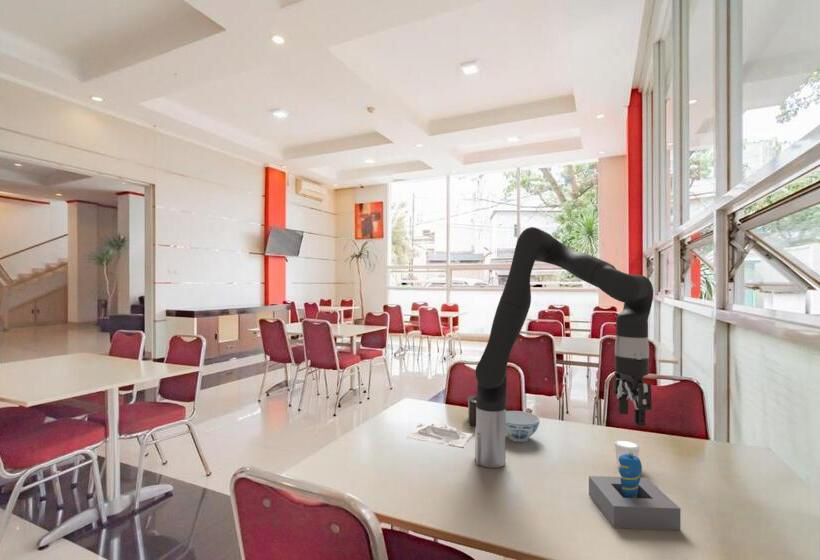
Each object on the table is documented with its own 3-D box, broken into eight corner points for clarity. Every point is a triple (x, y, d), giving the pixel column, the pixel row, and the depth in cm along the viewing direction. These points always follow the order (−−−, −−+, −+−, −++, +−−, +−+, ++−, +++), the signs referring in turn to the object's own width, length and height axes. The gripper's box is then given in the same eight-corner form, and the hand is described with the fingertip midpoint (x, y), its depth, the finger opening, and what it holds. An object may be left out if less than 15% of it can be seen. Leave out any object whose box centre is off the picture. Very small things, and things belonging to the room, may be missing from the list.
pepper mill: (497, 427, 161) (498, 381, 161) (469, 426, 162) (469, 380, 162) (492, 414, 177) (493, 373, 177) (466, 414, 177) (467, 372, 178)
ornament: (614, 504, 105) (614, 446, 105) (633, 503, 105) (633, 445, 105) (626, 516, 100) (626, 454, 99) (646, 515, 100) (646, 454, 100)
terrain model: (416, 429, 163) (416, 416, 163) (474, 433, 156) (473, 420, 156) (403, 444, 147) (402, 429, 147) (466, 449, 140) (466, 434, 140)
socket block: (613, 527, 95) (613, 506, 95) (588, 494, 110) (588, 475, 110) (680, 530, 94) (680, 508, 94) (646, 496, 109) (646, 477, 109)
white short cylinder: (642, 472, 123) (642, 449, 123) (618, 470, 125) (618, 447, 125) (635, 462, 130) (635, 440, 130) (611, 460, 131) (611, 438, 131)
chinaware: (544, 436, 152) (544, 415, 152) (532, 449, 139) (533, 427, 139) (505, 428, 160) (505, 408, 160) (491, 440, 147) (491, 419, 148)
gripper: (604, 349, 109) (603, 410, 109) (629, 359, 95) (629, 429, 95) (633, 350, 109) (632, 411, 109) (663, 360, 95) (662, 430, 95)
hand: (631, 419), depth 102 cm, fingers open, 8 cm apart
